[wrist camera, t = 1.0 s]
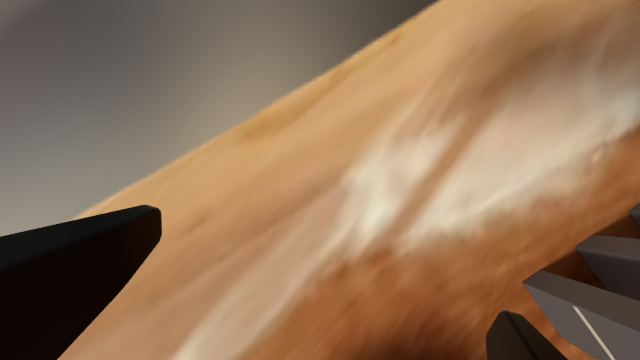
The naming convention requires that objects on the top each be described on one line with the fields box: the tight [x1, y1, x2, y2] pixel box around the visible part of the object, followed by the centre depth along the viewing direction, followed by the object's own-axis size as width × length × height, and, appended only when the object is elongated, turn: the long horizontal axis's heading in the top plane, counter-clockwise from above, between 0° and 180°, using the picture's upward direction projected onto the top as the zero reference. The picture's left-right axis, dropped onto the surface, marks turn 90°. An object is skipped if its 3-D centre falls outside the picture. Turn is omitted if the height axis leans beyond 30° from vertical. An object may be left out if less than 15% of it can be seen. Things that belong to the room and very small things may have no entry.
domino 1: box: [522, 270, 640, 360], centre depth 19 cm, size 2×5×11 cm, turn 34°
